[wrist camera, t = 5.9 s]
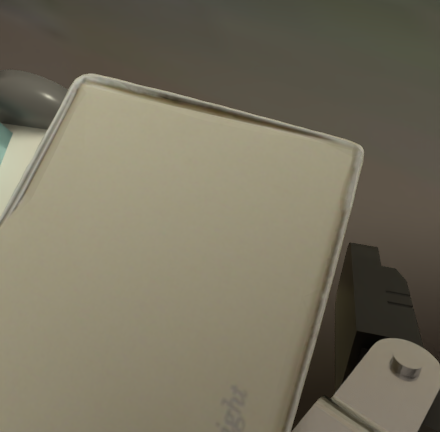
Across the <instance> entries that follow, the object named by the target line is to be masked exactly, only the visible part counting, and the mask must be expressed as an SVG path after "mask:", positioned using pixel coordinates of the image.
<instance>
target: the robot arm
mask: <svg viewBox="0 0 440 432" xmlns="http://www.w3.org/2000/svg"><path fill="white" fill-rule="evenodd" d="M412 307H413V305H412V301H411V298H410V293H409V289H408V285H407V282H406V280H405V279H404V278H403V277H402V276H401V275H400V273H399V272H398V271H397V270H396V269H395V268H389V267H384V266H381V262H380V256H379V251H378V247H373V246H367V245H361V244H355V243H349V245H348V248H347V252H346V256H345V260H344V264H343V269H342V273H341V277H340V281H339V285H338V290H337V295H336V303H335V394H334V395H333V397H332V398H331V399H330V398H328V397H327V396H322V397H321V398H319V399H318V400H317V402H316V403H315V404H314V405H313V406H312V407H311V409H310V410H309V411H308V412H307V414H306V415H305V416H304V417H303V418H302V420H301V421H300V422H299V423H298V424H297V426H296V427H295V428H294V429H293V431H292V432H440V364H439V362H438V361H437V360H436V359H435V357H434V356H433V355H431V354H430V353H429V352H428V351H427V350H425V349H424V348H423V345H422V341H421V337H420V333H419V329H418V325H417V321H416V317H415V313H414V309H412Z"/></svg>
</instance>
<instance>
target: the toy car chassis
mask: <svg viewBox="0 0 440 432" xmlns="http://www.w3.org/2000/svg"><path fill="white" fill-rule="evenodd" d="M67 92H68V90H67V89H66V88H64V87H62V86H61V85H59V84H57V83H55V82H53V81H51V80H49V79H46V78H44V77H41V76H39V75H36V74H32V73H29V72H25V71H19V70H1V71H0V216H1V215H2V213H3V211H4V209H5V208H6V206H7V204H8V202H9V200H10V198H11V196H12V194H13V192H14V190H15V188H16V187H17V185H18V183H19V182H20V180H21V178H22V175H23V173H24V171H25V169H26V167H27V166H28V164H29V163H30V161H31V160H32V158H33V156H34V154H35V152H36V150H37V147H38V145H39V144H40V142H41V140H42V138H43V137H44V135H45V133H46V131H47V129H48V128H49V126H50V124H51V122H52V121H53V119H54V117H55V115H56V114H57V112H58V110H59V108H60V106H61V104H62V102H63V100H64V98H65V96H66V94H67Z"/></svg>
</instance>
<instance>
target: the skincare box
mask: <svg viewBox="0 0 440 432" xmlns="http://www.w3.org/2000/svg"><path fill="white" fill-rule="evenodd" d="M363 157H364V151H363V148H362V147H361V146H360V145H359V144H357V143H354V142H352V141H349V140H346V139H342V138H339V137H335V136H331V135H328V134H325V133H321V132H317V131H312V130H309V129H305V128H302V127H298V126H294V125H291V124H287V123H284V122H280V121H277V120H273V119H269V118H265V117H261V116H257V115H254V114H250V113H247V112H243V111H239V110H235V109H232V108H228V107H225V106H221V105H218V104H213V103H208V102H204V101H201V100H197V99H194V98H190V97H186V96H183V95H179V94H175V93H171V92H167V91H163V90H159V89H154V88H150V87H145V86H141V85H137V84H133V83H130V82H126V81H123V80H119V79H114V78H110V77H106V76H101V75H97V74H85V75H82V76H80V77H78V78H77V79H75V80H74V82H73V83H72V85H71V86H70V88H69V90H68V92H67V94H66V96H65V98H64V100H63V102H62V104H61V106H60V108H59V110H58V112H57V114H56V115H55V117H54V119H53V121H52V122H51V124H50V126H49V128H48V129H47V131H46V133H45V135H44V137H43V138H42V140H41V142H40V144H39V145H38V147H37V150H36V152H35V154H34V156H33V158H32V160H31V161H30V163H29V164H28V166H27V167H26V169H25V171H24V173H23V175H22V178H21V180H20V182H19V183H18V185H17V187H16V188H15V190H14V192H13V194H12V196H11V198H10V200H9V202H8V204H7V206H6V208H5V209H4V211H3V213H2V215H1V216H0V432H291V429H292V426H293V422H294V419H295V415H296V412H297V408H298V404H299V401H300V397H301V393H302V390H303V387H304V383H305V380H306V376H307V373H308V369H309V366H310V362H311V359H312V355H313V352H314V348H315V344H316V341H317V337H318V333H319V330H320V326H321V323H322V319H323V315H324V311H325V308H326V304H327V300H328V297H329V293H330V289H331V285H332V282H333V278H334V274H335V270H336V266H337V263H338V259H339V255H340V251H341V247H342V243H343V240H344V236H345V232H346V228H347V224H348V220H349V216H350V213H351V209H352V205H353V201H354V196H355V192H356V188H357V183H358V179H359V175H360V172H361V168H362V164H363Z"/></svg>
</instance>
